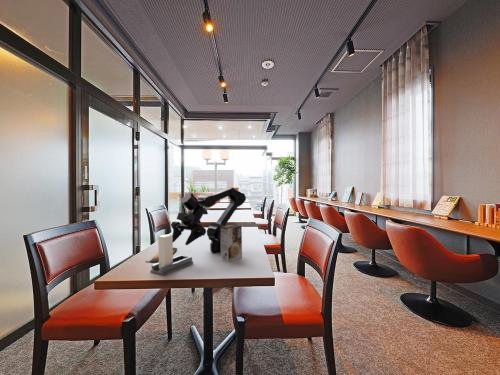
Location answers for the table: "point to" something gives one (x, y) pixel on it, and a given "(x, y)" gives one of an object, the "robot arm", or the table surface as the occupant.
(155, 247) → the table surface
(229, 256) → the coffee box
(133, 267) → the table surface
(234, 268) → the table surface
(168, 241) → the cream rectangular block
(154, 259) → the parchment
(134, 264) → the table surface
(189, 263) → the grey rectangular tray
